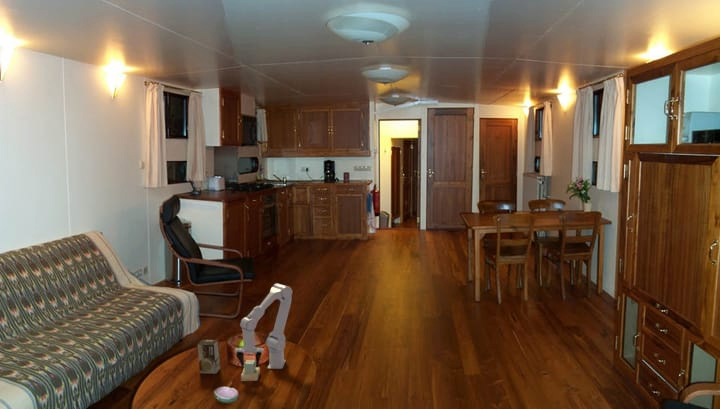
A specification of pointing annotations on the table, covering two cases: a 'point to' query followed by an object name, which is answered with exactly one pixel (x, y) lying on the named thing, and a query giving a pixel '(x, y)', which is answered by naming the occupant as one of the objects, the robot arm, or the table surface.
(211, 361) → the coffee box
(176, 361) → the table surface
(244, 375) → the birch block
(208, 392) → the table surface
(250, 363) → the pale grey cube
